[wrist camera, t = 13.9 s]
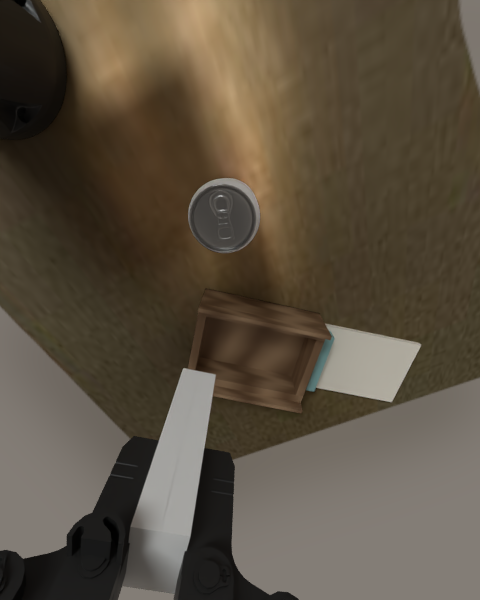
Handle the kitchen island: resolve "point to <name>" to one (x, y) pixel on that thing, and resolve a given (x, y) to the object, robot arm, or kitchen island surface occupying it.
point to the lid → (362, 363)
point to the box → (257, 349)
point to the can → (224, 215)
